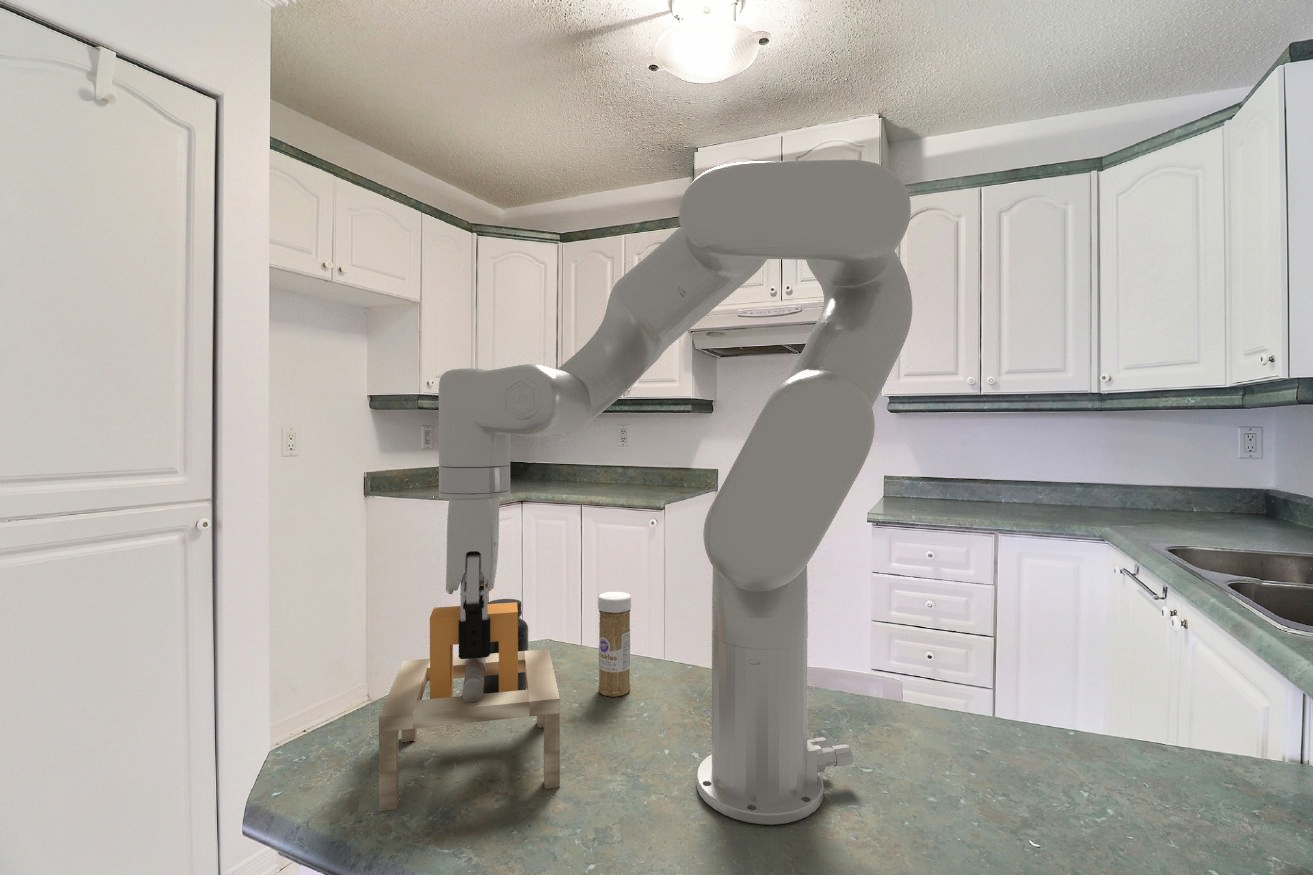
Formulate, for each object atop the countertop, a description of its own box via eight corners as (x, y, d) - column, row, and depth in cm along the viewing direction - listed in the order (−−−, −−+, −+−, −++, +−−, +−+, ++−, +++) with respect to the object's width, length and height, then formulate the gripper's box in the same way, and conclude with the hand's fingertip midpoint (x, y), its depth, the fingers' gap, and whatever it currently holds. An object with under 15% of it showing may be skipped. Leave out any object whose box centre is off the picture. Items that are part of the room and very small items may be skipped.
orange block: (517, 689, 72) (517, 602, 72) (517, 704, 68) (517, 612, 68) (434, 697, 69) (433, 607, 69) (430, 713, 66) (429, 617, 65)
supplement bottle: (522, 698, 85) (521, 609, 85) (472, 697, 85) (471, 609, 85) (533, 678, 92) (532, 596, 92) (486, 677, 92) (486, 596, 92)
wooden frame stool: (549, 721, 78) (549, 632, 78) (559, 787, 63) (559, 678, 63) (403, 736, 74) (403, 643, 74) (379, 811, 59) (378, 695, 59)
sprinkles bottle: (591, 694, 86) (591, 596, 86) (609, 682, 90) (609, 589, 90) (620, 700, 84) (620, 600, 84) (637, 688, 88) (637, 592, 88)
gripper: (445, 478, 76) (446, 629, 76) (430, 490, 59) (430, 682, 60) (509, 477, 77) (509, 624, 78) (511, 488, 61) (511, 675, 61)
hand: (475, 648), depth 69 cm, fingers closed on orange block, 4 cm apart
